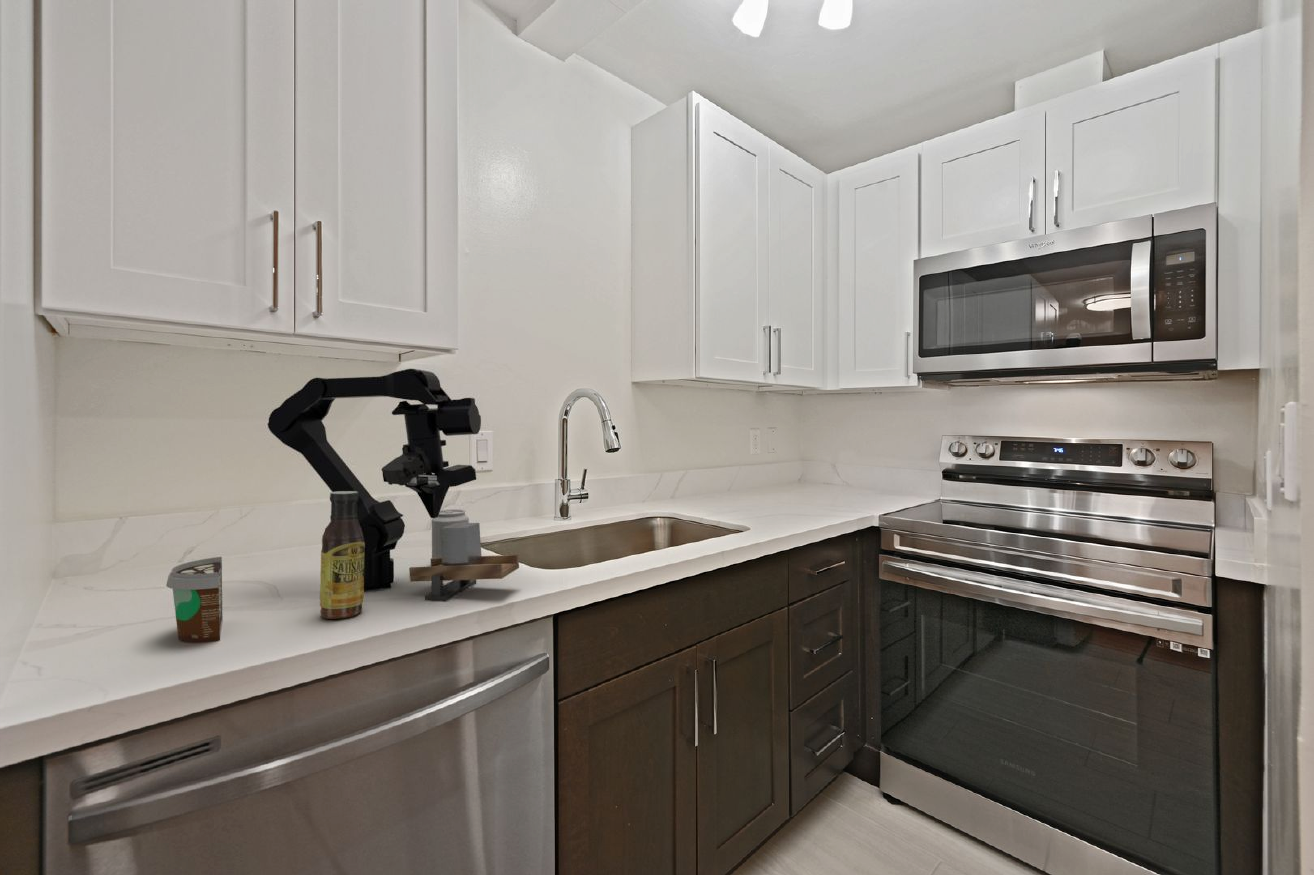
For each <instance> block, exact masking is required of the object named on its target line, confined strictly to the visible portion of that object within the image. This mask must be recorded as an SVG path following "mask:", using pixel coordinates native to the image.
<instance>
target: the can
mask: <svg viewBox="0 0 1314 875" xmlns="http://www.w3.org/2000/svg"><path fill="white" fill-rule="evenodd" d="M455 523H470V518H469V516H468V515H466V510H465V509H460V508H459V509H457V508H455V509H452V508H451V509H449V508H448V509H440V512H439V515H438V517H437V518H431V558H442V549H441V534H440V528H443V527H446V526H449V525H452V524H455Z"/></svg>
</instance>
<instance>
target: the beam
mask: <svg viewBox="0 0 1314 875" xmlns="http://www.w3.org/2000/svg"><path fill="white" fill-rule="evenodd" d="M481 557H482V565H456V566H444V565H443V564H442V558H432V557H431V558H430V566H411V567H409V569H408V570H409V571H408V572H409V581H410V582H411V583H415V582H416V583H418V582H431V576H432V575H434V574H438V575H443V582H444V581H445V582H446V581H447V582H448V581H450V582H451V581H453V580H476V581H477V580H501V579H503V578H505V577H507V576H509V575H511V574H512V573H514V572H515V571H517V570H519V568H520V562H519V555H518V554H504V555H503V554H499V555H481Z"/></svg>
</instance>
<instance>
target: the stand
mask: <svg viewBox="0 0 1314 875" xmlns="http://www.w3.org/2000/svg"><path fill="white" fill-rule="evenodd" d="M430 582H431V584H430V585H431V591H430V592H429V593H427V594H425V595H424V601H429V602H431V601H432V602H448V601H450V600H451V599H452V598H455V597H456V596H457V595H460V594H461V593H462V592H465V591H467V590H468V589H469V588H472V587H473V586H474V585H477V580H450V582H447V583H446V584H444V581H443V575H438V574H434V575H432V576H431V581H430Z"/></svg>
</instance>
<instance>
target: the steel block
mask: <svg viewBox="0 0 1314 875" xmlns="http://www.w3.org/2000/svg"><path fill="white" fill-rule="evenodd" d="M440 534H441V549H442V564H443V565H444V566H456V565H482V557H481V556H482V546H481V545H482V544H481V543H482V542H481V530H480V522H469V523H455V524H452V525H449V526H446V527H443V528H440Z"/></svg>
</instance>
